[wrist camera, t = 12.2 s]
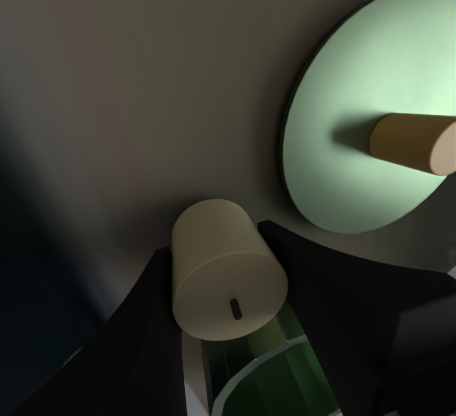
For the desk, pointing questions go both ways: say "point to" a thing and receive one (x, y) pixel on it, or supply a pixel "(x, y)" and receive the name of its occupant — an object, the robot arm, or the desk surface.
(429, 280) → the robot arm
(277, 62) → the desk surface
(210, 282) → the candle
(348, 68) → the tin lid
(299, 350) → the tin
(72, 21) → the desk surface
